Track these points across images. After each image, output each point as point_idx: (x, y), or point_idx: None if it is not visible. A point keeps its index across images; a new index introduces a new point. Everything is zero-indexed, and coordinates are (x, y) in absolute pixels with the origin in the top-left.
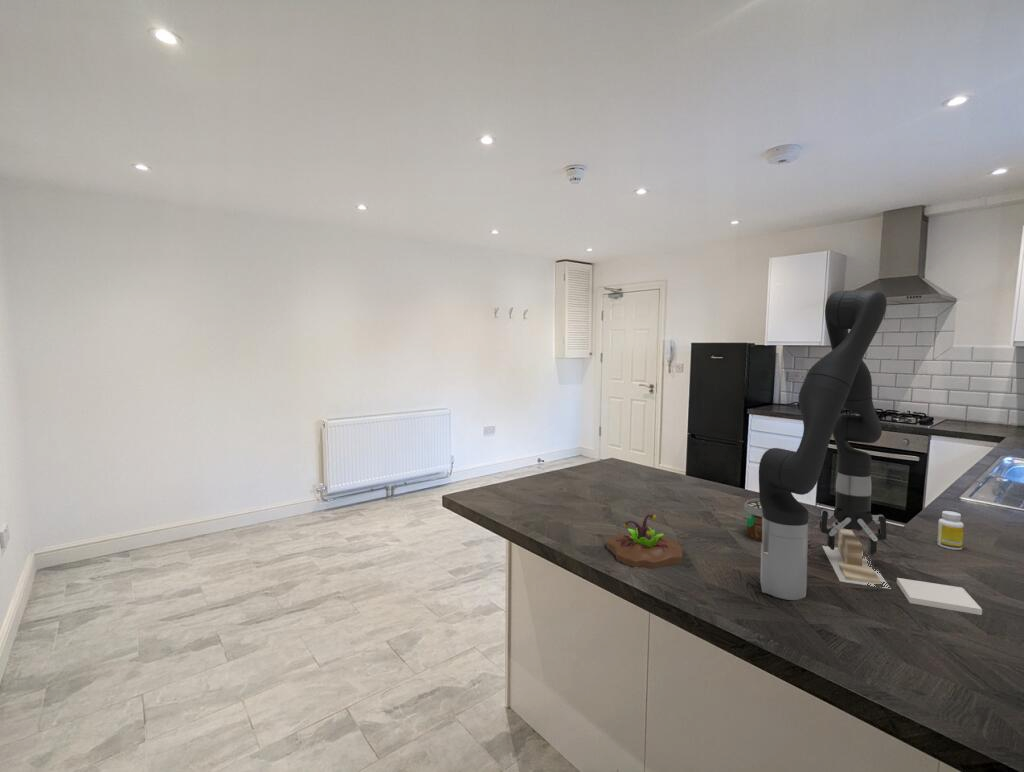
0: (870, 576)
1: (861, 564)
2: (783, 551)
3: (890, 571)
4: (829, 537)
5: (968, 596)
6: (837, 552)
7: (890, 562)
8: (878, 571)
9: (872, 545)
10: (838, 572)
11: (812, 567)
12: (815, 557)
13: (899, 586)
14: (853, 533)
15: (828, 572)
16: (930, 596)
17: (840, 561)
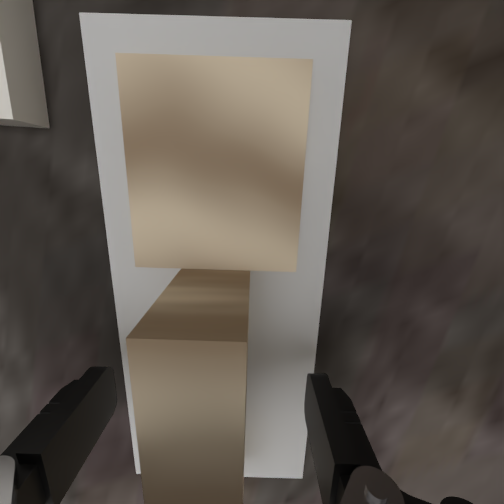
0: (163, 116)
1: (182, 270)
2: None
3: (60, 299)
4: (366, 458)
5: None
6: (254, 427)
7: (50, 399)
8: (111, 260)
9: (55, 419)
10: (319, 170)
11: (429, 218)
12: (367, 353)
13: (28, 59)
14: None
15: (364, 175)
16: None
17: (268, 328)
